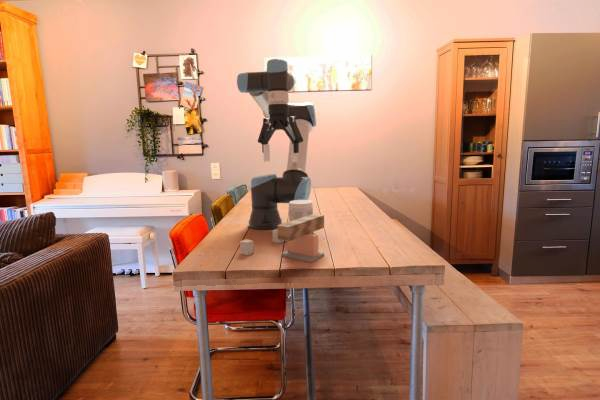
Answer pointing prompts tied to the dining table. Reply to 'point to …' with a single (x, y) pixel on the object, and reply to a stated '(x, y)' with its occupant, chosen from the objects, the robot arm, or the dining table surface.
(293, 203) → the supplement tub
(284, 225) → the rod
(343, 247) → the dining table surface
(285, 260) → the dining table surface
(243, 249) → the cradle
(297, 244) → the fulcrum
